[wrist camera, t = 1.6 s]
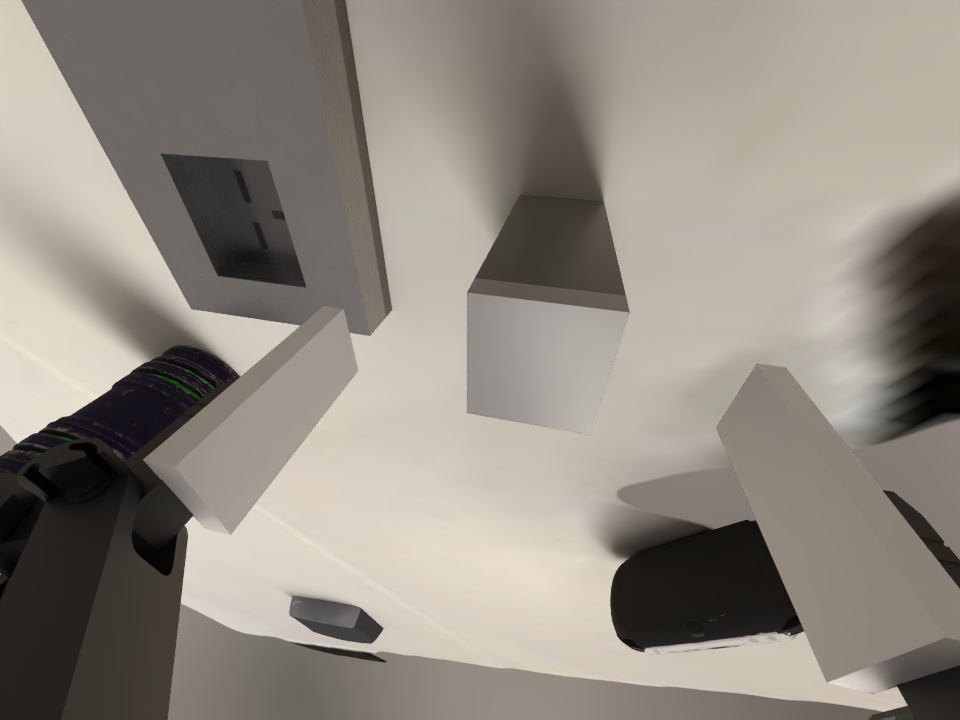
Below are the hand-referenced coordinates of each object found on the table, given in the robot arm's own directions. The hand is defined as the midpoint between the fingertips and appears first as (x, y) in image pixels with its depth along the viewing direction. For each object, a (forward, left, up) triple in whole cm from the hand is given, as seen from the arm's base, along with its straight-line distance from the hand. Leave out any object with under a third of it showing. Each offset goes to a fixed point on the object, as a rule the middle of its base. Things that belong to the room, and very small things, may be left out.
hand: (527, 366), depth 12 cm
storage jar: (+33, +18, -12) cm, 39 cm away
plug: (0, 0, -12) cm, 12 cm away
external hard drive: (+36, +89, -12) cm, 97 cm away
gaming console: (-17, +28, -12) cm, 35 cm away
